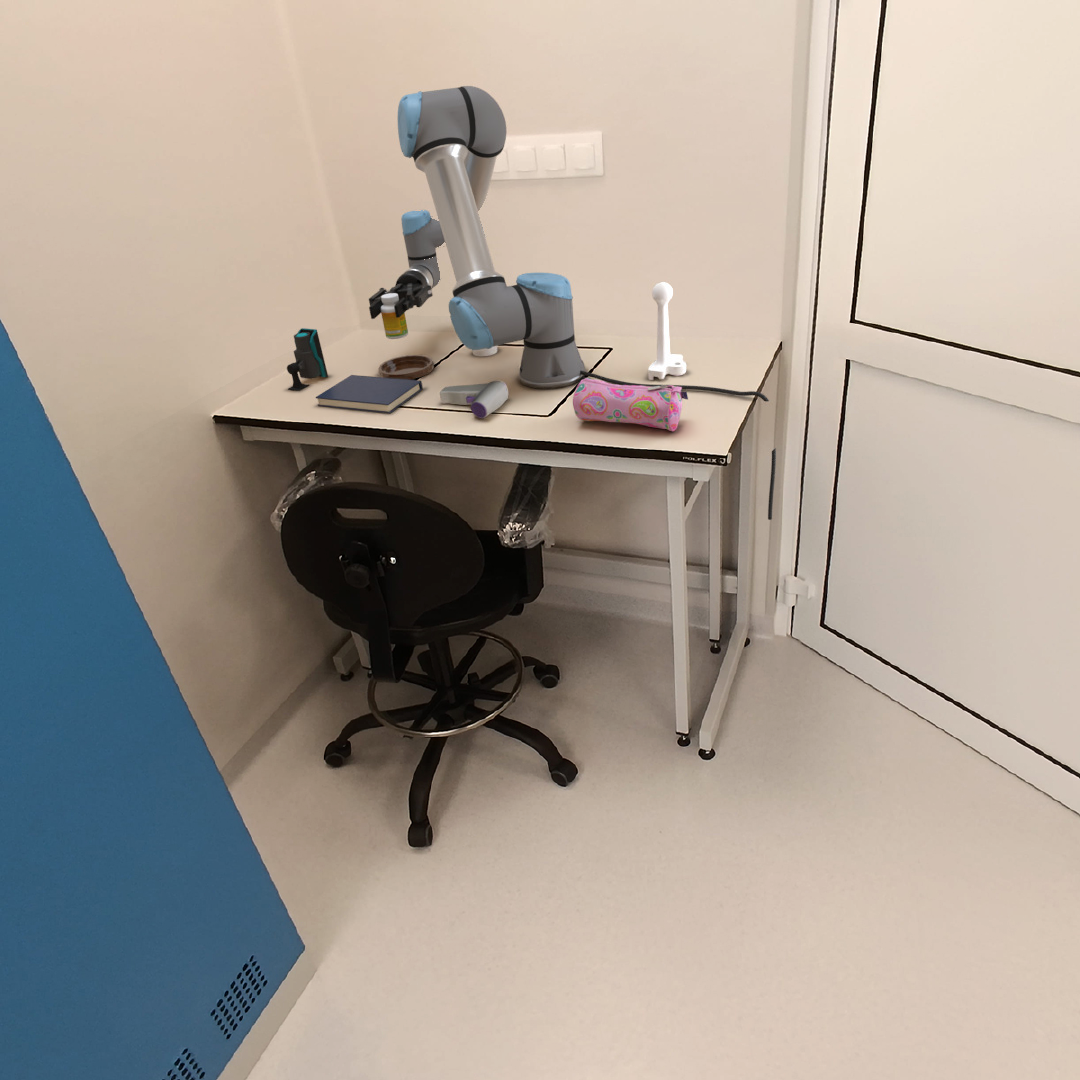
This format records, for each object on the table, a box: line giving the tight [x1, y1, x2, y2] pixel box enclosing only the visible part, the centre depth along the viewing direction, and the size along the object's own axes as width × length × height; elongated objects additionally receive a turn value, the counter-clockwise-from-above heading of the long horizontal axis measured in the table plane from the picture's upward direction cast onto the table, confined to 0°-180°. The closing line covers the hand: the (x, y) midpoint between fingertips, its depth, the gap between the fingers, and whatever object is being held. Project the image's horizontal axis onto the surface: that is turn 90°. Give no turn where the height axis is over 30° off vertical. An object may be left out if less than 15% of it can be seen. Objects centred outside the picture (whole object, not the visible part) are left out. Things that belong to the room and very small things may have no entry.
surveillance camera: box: [286, 327, 329, 392], centre depth 195 cm, size 6×12×10 cm
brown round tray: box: [378, 354, 435, 380], centre depth 198 cm, size 13×13×2 cm
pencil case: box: [572, 377, 689, 432], centre depth 158 cm, size 21×9×9 cm, turn 64°
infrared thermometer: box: [439, 380, 509, 419], centre depth 174 cm, size 5×12×15 cm
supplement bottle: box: [380, 293, 409, 340], centre depth 190 cm, size 5×5×10 cm
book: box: [315, 374, 424, 414], centre depth 185 cm, size 20×14×2 cm
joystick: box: [647, 281, 687, 381], centre depth 176 cm, size 11×8×20 cm
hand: (384, 312), depth 185 cm, fingers closed on supplement bottle, 5 cm apart
